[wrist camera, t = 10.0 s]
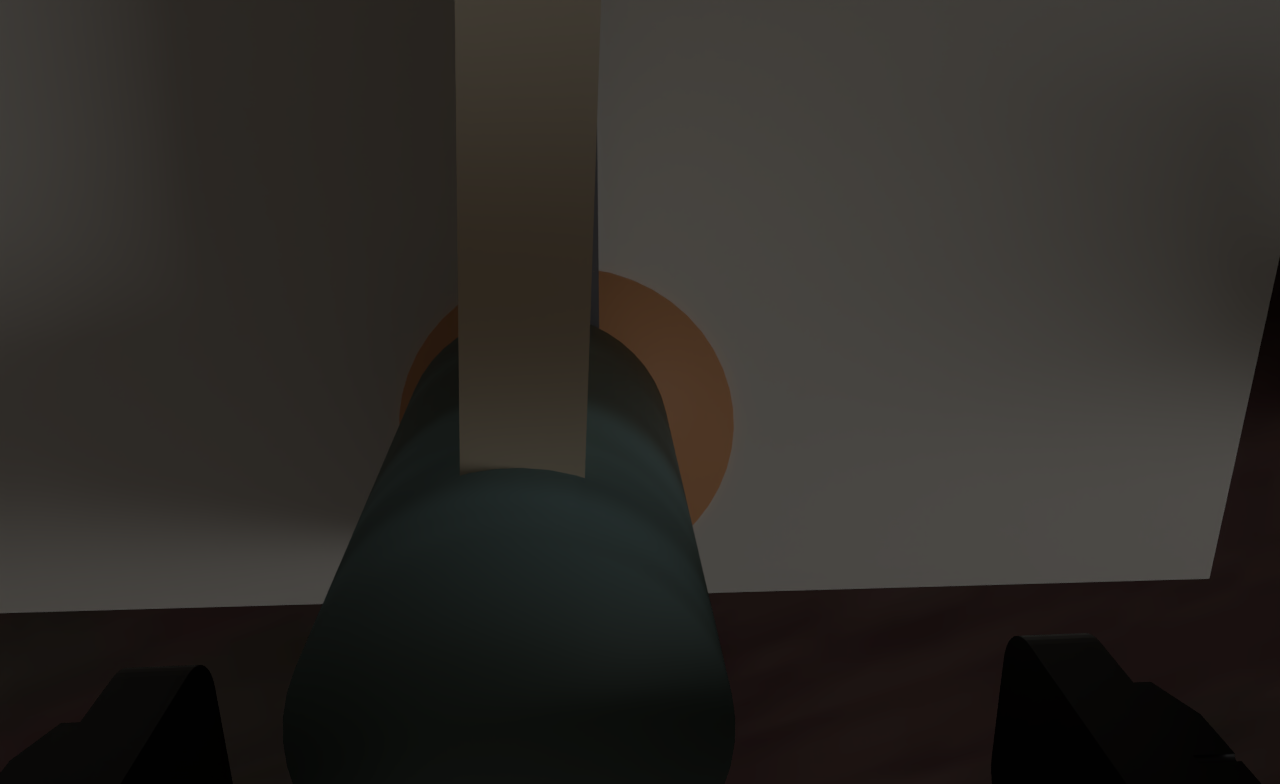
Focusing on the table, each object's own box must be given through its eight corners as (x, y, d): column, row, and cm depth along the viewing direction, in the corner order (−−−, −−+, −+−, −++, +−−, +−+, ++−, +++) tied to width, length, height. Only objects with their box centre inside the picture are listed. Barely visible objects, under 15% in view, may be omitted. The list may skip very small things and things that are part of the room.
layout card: (1440, -576, 13) (1472, -598, 12) (1195, 566, 18) (1212, 581, 18) (-543, -652, 11) (-591, -681, 11) (-163, 604, 17) (-184, 621, 16)
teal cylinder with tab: (387, -154, 13) (193, -333, 6) (705, -134, 13) (836, -286, 7) (408, 553, 16) (298, 916, 10) (661, 557, 17) (718, 911, 10)
